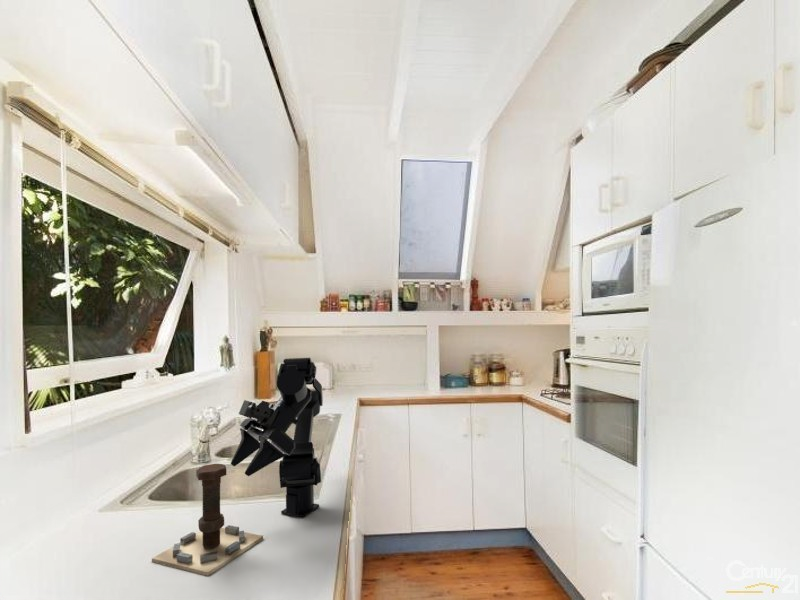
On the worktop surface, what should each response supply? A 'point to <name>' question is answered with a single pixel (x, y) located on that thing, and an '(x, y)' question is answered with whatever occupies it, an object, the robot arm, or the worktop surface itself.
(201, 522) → the bolt
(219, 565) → the tan flat square board
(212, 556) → the castellated ring
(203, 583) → the worktop surface
